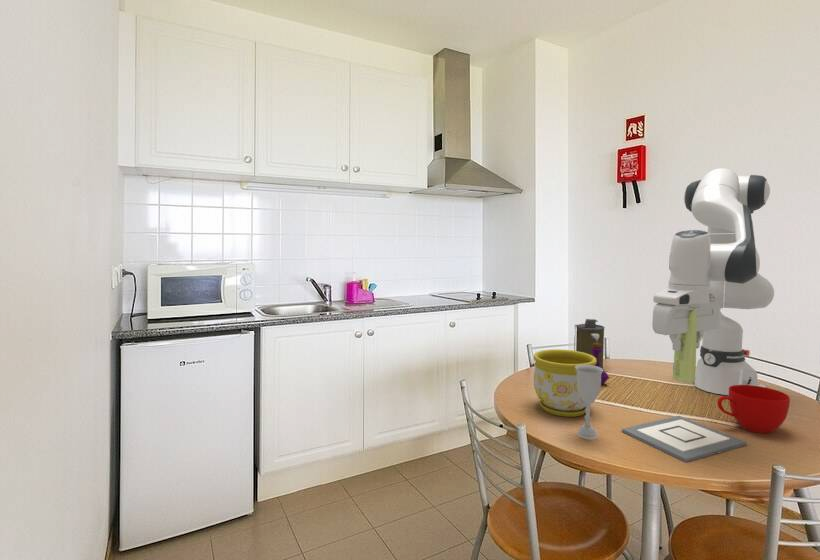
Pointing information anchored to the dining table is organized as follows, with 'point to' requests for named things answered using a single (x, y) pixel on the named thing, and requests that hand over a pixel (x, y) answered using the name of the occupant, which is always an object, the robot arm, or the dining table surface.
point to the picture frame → (683, 438)
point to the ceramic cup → (757, 407)
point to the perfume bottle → (596, 351)
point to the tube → (686, 353)
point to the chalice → (588, 395)
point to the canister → (589, 338)
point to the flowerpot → (560, 381)
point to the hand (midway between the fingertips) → (685, 349)
